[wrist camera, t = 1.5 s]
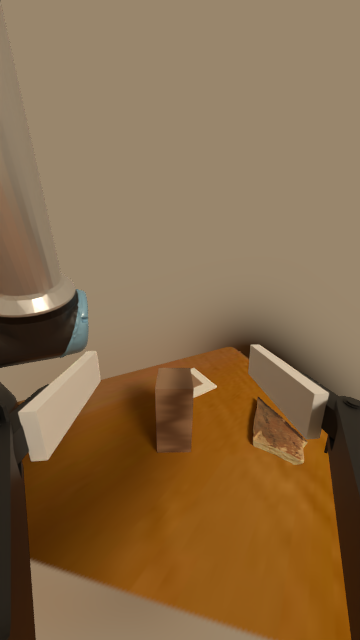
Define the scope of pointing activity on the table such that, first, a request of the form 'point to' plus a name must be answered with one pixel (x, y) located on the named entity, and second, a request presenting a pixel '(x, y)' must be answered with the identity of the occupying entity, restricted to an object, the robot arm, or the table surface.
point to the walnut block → (174, 409)
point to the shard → (277, 435)
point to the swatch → (200, 383)
